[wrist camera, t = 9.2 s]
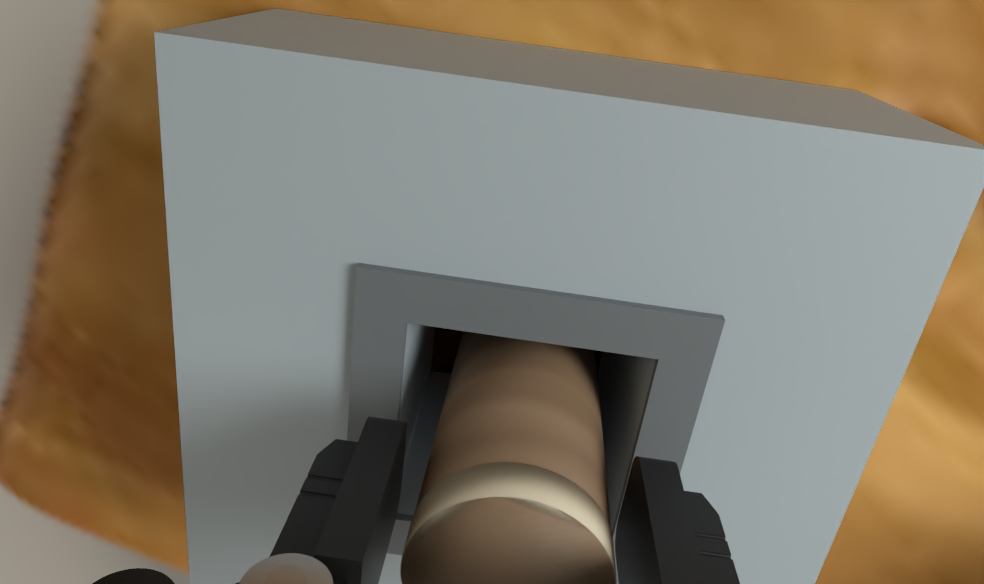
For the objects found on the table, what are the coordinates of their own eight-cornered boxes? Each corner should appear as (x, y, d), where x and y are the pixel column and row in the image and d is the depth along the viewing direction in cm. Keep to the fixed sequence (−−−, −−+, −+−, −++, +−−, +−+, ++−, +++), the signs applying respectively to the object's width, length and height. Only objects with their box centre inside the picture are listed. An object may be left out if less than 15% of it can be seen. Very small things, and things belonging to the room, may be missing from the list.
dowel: (478, 243, 20) (408, 479, 11) (602, 261, 20) (637, 515, 11) (464, 352, 21) (393, 640, 12) (580, 370, 21) (594, 673, 12)
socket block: (275, 8, 18) (148, 33, 12) (857, 90, 17) (1005, 155, 12) (275, 473, 23) (189, 636, 18) (709, 537, 23) (761, 722, 18)
